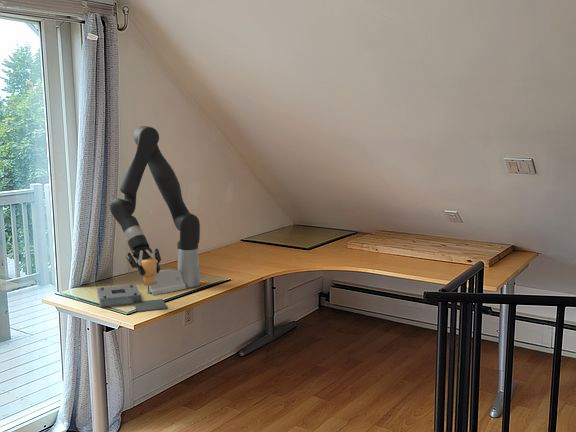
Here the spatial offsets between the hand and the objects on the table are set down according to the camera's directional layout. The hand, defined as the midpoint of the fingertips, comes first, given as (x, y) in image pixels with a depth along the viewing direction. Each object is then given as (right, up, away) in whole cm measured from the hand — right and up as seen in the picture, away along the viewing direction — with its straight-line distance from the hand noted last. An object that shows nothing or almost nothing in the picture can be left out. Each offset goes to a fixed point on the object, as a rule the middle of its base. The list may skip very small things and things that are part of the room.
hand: (151, 273), depth 243 cm
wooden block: (-1, -4, +2) cm, 5 cm away
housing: (-16, -12, +12) cm, 23 cm away
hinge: (+1, -10, +25) cm, 27 cm away
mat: (-1, -14, +4) cm, 14 cm away
